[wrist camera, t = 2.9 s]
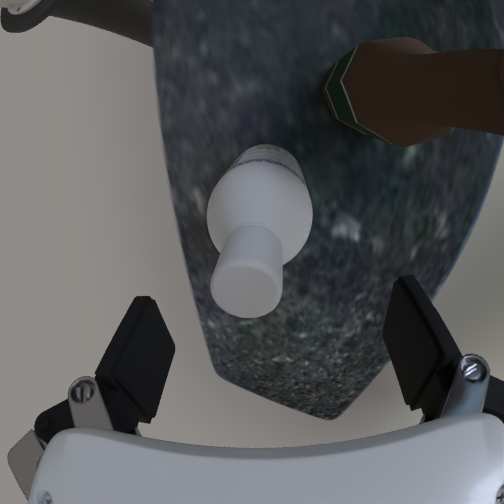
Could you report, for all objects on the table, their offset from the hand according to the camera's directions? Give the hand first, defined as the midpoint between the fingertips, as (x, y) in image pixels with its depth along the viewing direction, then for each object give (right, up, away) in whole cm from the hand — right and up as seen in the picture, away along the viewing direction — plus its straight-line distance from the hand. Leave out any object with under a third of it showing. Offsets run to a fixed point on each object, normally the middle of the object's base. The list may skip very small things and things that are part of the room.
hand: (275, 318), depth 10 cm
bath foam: (+1, +11, +18) cm, 21 cm away
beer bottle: (+10, +19, +13) cm, 25 cm away
